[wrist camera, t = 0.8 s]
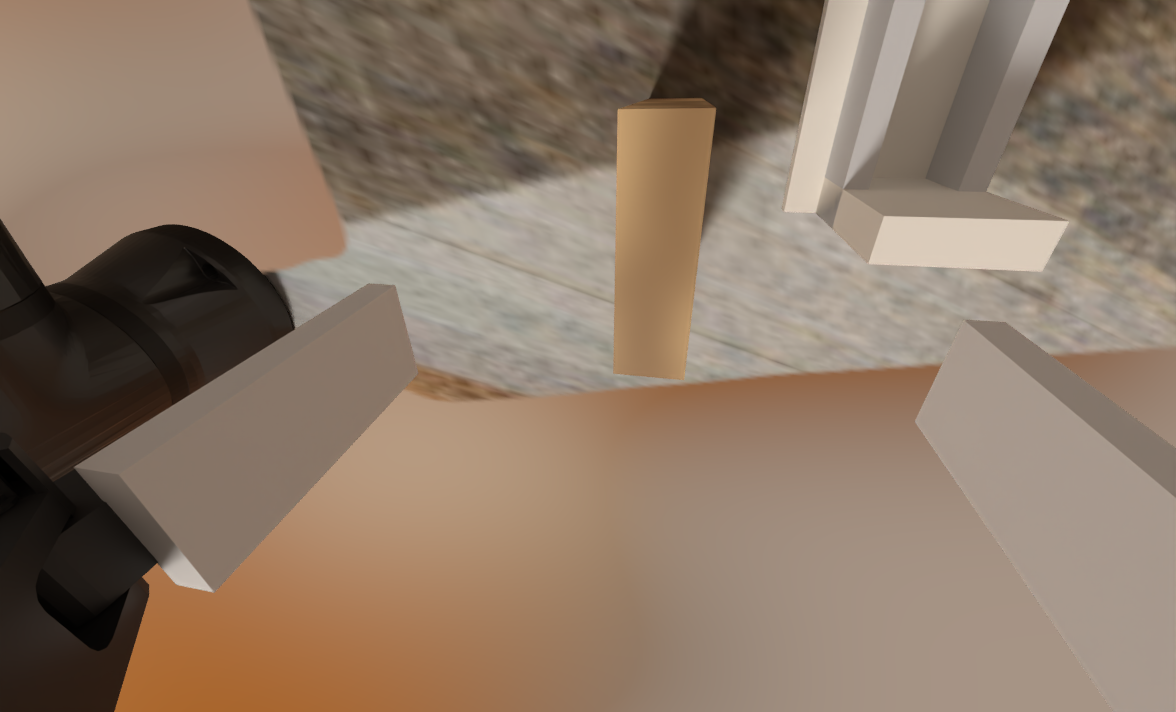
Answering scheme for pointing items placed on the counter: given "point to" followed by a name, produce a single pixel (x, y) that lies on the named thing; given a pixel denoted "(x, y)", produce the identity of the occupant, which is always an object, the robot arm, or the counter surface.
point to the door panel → (659, 231)
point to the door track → (922, 130)
